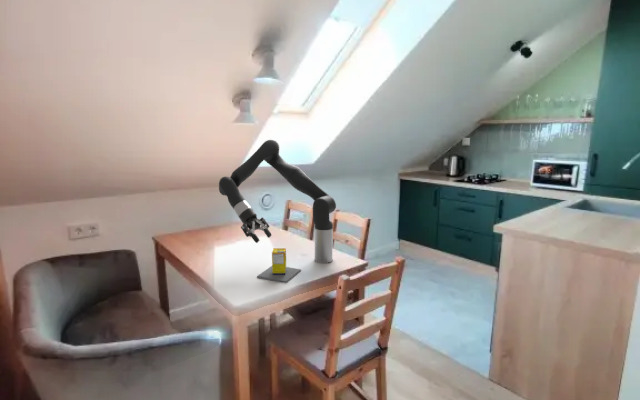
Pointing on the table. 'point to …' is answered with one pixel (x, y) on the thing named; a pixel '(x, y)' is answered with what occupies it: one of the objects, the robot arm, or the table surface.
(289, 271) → the charcoal mat
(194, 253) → the table surface
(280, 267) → the supplement box
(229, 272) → the table surface
